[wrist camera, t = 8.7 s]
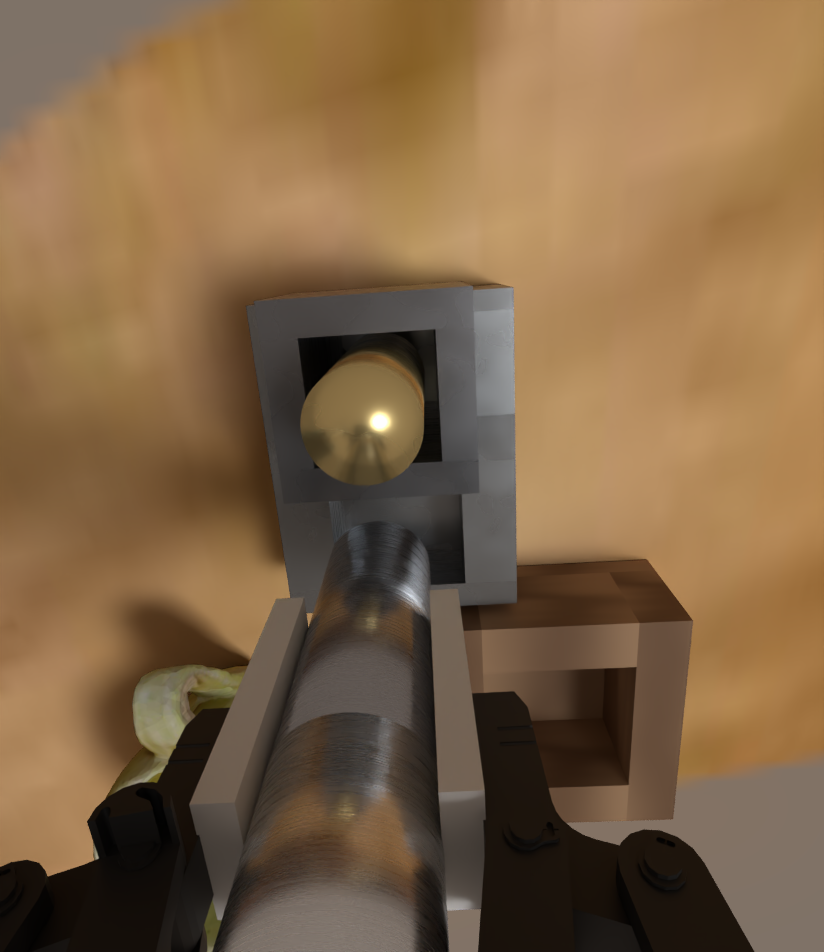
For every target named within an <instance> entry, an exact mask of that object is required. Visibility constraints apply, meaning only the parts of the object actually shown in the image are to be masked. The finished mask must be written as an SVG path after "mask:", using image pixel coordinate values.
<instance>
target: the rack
mask: <svg viewBox="0 0 824 952" xmlns="http://www.w3.org/2000/svg"><path fill="white" fill-rule="evenodd" d="M460 609H461V617H462V624H463V632H464V639H465V647H466V654H467V662H468V669H469V676H470V684H471V691H472V693H488V692H508V691H514V692H515V693H516V694H517V695H518V696H519V697H520V698H521V700H522V701H523V702H524V703H525V704H526V705H527V707H528V710H529V714H530V718H531V722H532V726H533V729H534V733H535V737H536V742H537V745H538V749H539V753H540V757H541V760H542V764H543V768H544V772H545V776H546V780H547V784H548V788H549V791H550V795H551V799H552V802H553V805H554V807H555V810H556V812H557V813H558V814H559V816H560V817H561V818H562V820H563V821H564V822H565V823H568V822H601V821H634V820H665V819H673V814H674V804H675V794H676V784H677V774H678V765H679V755H680V745H681V735H682V725H683V715H684V705H685V695H686V685H687V675H688V665H689V655H690V646H691V636H692V626H693V620H692V619H691V617H690V616H689V615H688V613H687V612H686V611H685V609H684V608H683V607H682V605H681V604H680V603H679V601H678V600H677V599H676V597H675V596H674V595H673V593H672V592H671V591H670V589H669V588H668V587H667V586H666V584H665V583H664V582H663V580H662V579H661V578H660V576H659V575H658V574H657V572H656V571H655V570H654V568H653V567H652V566H651V564H650V563H649V562H648V560H632V561H611V562H591V563H571V564H551V565H530V566H517V603H510V604H489V605H467V606H460Z"/></svg>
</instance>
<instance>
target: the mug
mask: <svg viewBox="0 0 824 952" xmlns="http://www.w3.org/2000/svg"><path fill="white" fill-rule="evenodd" d="M247 667H248V666H236V667H231V668H226V669H218V668H214V667H205V666H204V665H196V664H191V665H182V666H175V667H168V668H161V669H157V670H154V671H151V672H150V673H148V674H146V675H144V676H142V677H141V679H140V681H139V682H138V684H137V686H136V688H135V691H134V697H133V702H132V707H133V723H134V730H135V733H136V736H137V738H138V740H139V742H140V744H142V745H143V746H144V747H143V748H142V749H141V750H140V751H139V752H138V753H137V754H136V755H135V757H134V758H133V759H132V760H131V761H130V762H129V764H128V765H127V766H126V767H125V768H124V770H123V771H122V772H121V774H120V775H119V777H118V778H117V780H116V781H115V783H114V785H113V786H112V788H111V790H110V792H109V793H108V795H107V797H108V796H110V795H112V794H113V793H115V792H117V791H119V790H120V789H122V788H124V787H127V786H130V785H133V784H136V783H140V782H155V783H157V781H158V780H159V778H160V776H161V774H162V772H163V770H164V768H165V766H166V765H168V760H169V758H170V756H171V754H172V752H173V750H174V749H176V744H177V742H178V740H179V738H180V736H181V734H182V732H183V730H184V728H185V726H186V725H187V724H188V723H189V722H190V721H191V720H192V719H193V718H194V717H195V716H196V715H197V714H198V713H199V712H200V711H201V710H202V709H212V708H230V707H231V705H232V702H233V700H234V698H235V695H236V693H237V691H238V688H239V686H240V683H241V681H242V679H243V676H244V674H245V672H246V669H247ZM187 692H190V693H192V694H191V695H190V696H189V697H188V695H187ZM107 797H106V798H107ZM93 846H94V853H93V857H94V860H97V859H99V857H98V854H97V851H96V848H95V845H94V842H93ZM221 921H222V920H217V916H216V912H215V908H214V904H213V899H212V902H211V905H210V908H209V912H208V915H207V918H206V921H205V924H204V926H205V930H206V934H207V948H208V949H207V952H212V951H213V948H214V944H215V941H216V937H217V934H218V931H219V927H220V924H221Z"/></svg>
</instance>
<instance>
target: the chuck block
mask: <svg viewBox="0 0 824 952" xmlns="http://www.w3.org/2000/svg"><path fill="white" fill-rule="evenodd" d="M246 310H247V317H248V323H249V330H250V336H251V343H252V349H253V356H254V362H255V369H256V375H257V382H258V388H259V395H260V402H261V408H262V415H263V421H264V428H265V434H266V441H267V447H268V454H269V460H270V467H271V473H272V480H273V487H274V493H275V500H276V506H277V513H278V519H279V526H280V532H281V539H282V545H283V552H284V558H285V565H286V572H287V578H288V585H289V591H290V598H303V597H304V600H305V607H306V613H313V612H314V608H315V605H316V601H317V598H318V595H319V591H320V588H321V585H322V581H323V578H324V575H325V571H326V568H327V565H328V561H329V558H330V554H331V551H332V549H333V547H334V545H335V543H336V542H337V540H338V539H339V538H340V537H341V536H342V535H343V534H344V533H345V532H346V531H348V530H349V529H351V528H352V527H354V526H356V525H359V524H361V523H365V522H370V521H387V522H392V523H395V524H398V525H401V526H403V527H405V528H407V529H408V530H410V531H411V532H412V533H414V534H415V535H416V536H417V537H418V538H419V540H420V541H421V542H422V544H423V545H424V547H425V549H426V551H427V554H428V557H429V563H430V580H431V590H443V589H458V594H459V602H460V606H467V605H489V604H510V603H517V562H516V471H515V381H514V290H513V287H510V286H506V285H502V284H493V285H478V286H472V285H470V284H467V283H465V282H462V281H460V282H446V283H431V284H417V285H403V286H389V287H374V288H360V289H346V290H332V291H317V292H303V293H292V294H287V295H282V296H277V297H272V298H267V299H262V300H257V301H254V304H252V305H247V306H246ZM373 333H392V334H395V335H398V336H400V337H402V338H404V339H406V340H407V341H408V342H410V343H411V344H412V345H413V346H414V347H415V349H416V350H417V351H418V353H419V355H420V357H421V359H422V362H423V365H424V372H425V381H424V433H423V440H422V443H421V447H420V449H419V452H418V454H417V456H416V457H415V459H414V460H413V462H412V463H411V464H410V465H409V467H408V468H407V469H405V470H404V471H403V472H402V473H401V474H399V475H398V476H396V477H395V478H393V479H391V480H389V481H386V482H384V483H380V484H376V485H368V486H367V485H352V484H348V483H344V482H342V481H339V480H337V479H335V478H333V477H331V476H330V475H328V474H327V473H325V472H324V471H323V470H322V469H321V468H320V467H318V466H317V464H316V463H315V462H314V461H313V460H312V458H311V457H310V455H309V454H308V452H307V450H306V448H305V445H304V442H303V439H302V435H301V426H300V421H301V412H302V408H303V405H304V402H305V400H306V398H307V396H308V394H309V392H310V391H311V390H312V388H313V387H314V386H315V385H316V384H317V383H318V382H319V380H320V379H321V378H322V377H323V376H324V375H325V374H326V373H327V372H328V371H329V370H330V369H331V368H332V367H333V366H334V365H335V363H336V362H337V361H338V360H339V359H340V358H341V357H342V356H343V355H344V354H345V353H346V352H347V351H348V350H349V349H350V348H351V346H352V345H353V344H354V343H355V342H357V341H358V340H359V339H361V338H363V337H364V336H367V335H369V334H373Z"/></svg>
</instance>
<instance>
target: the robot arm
mask: <svg viewBox="0 0 824 952" xmlns="http://www.w3.org/2000/svg"><path fill="white" fill-rule="evenodd" d="M430 613H431V635H432V658H433V680H434V703H435V726H436V748H437V771H438V793H439V808H440V822H441V837H442V843H443V849H444V858H445V878H446V897H447V910H467V909H481V917H480V932H479V946H478V952H754V950H753V949H752V947H751V945H750V943H749V942H748V940H747V938H746V936H745V935H744V933H743V931H742V929H741V928H740V926H739V924H738V922H737V920H736V918H735V917H734V915H733V913H732V911H731V910H730V908H729V906H728V904H727V903H726V901H725V899H724V897H723V895H722V894H721V892H720V890H719V888H718V887H717V885H716V883H715V881H714V879H713V878H712V876H711V874H710V873H709V871H708V869H707V867H706V865H705V863H704V862H703V861H702V859H701V858H700V857H699V856H698V854H697V853H696V852H695V851H694V849H693V848H692V847H690V846H689V845H688V844H686V843H685V842H684V841H682V840H681V839H679V838H678V837H676V836H673V835H670V834H668V833H665V832H663V831H658V830H641V831H638V832H635V833H631V834H630V835H629V836H628V837H627V838H625V840H623V841H622V842H621V844H620V846H619V845H616V844H611V843H608V842H603V841H600V840H596V839H593V838H590V837H587V836H585V835H582V834H581V833H579V832H577V831H576V830H574V829H572V828H571V827H570V826H569V825H568V824H567V823H565V822H564V821H563V820H562V818H561V817H560V816H559V814H558V813H557V812H556V810H555V807H554V805H553V802H552V799H551V795H550V791H549V788H548V784H547V780H546V776H545V772H544V768H543V764H542V760H541V757H540V753H539V749H538V745H537V742H536V737H535V733H534V729H533V726H532V722H531V718H530V714H529V710H528V707H527V705H526V704H525V703H524V702H523V701H522V700H521V698H520V697H519V696H518V695H517V694H516V693H515V692H514V691H508V692H488V693H472V691H471V684H470V676H469V669H468V662H467V654H466V647H465V639H464V632H463V624H462V617H461V609H460V602H459V594H458V589H443V590H430ZM307 632H308V621H307V614H306V607H305V600H304V597H303V598H285V599H276V601H275V603H274V605H273V608H272V610H271V612H270V615H269V617H268V620H267V622H266V624H265V627H264V629H263V631H262V634H261V636H260V638H259V641H258V643H257V646H256V648H255V650H254V653H253V655H252V657H251V660H250V662H249V665H248V667H247V669H246V672H245V674H244V676H243V679H242V681H241V683H240V686H239V688H238V691H237V693H236V695H235V698H234V700H233V702H232V705H231V707H230V708H212V709H202V710H201V711H200V712H199V713H198V714H197V715H196V716H195V717H194V718H193V719H192V720H191V721H190V722H189V723H188V724H187V725H186V726H185V728H184V730H183V732H182V734H181V736H180V738H179V740H178V742H177V744H176V749H174V750H173V752H172V754H171V756H170V758H169V760H168V765H166V766H165V768H164V770H163V772H162V774H161V776H160V778H159V780H158V781H157V783H155V782H140V783H136V784H133V785H130V786H127V787H124V788H122V789H120V790H119V791H117V792H115V793H113V794H112V795H110V796H108V797H107V798H106V799H105V800H104V801H103V802H102V803H101V804H100V805H99V806H97V807H96V808H95V810H94V811H93V813H92V815H91V816H90V818H89V820H88V821H87V823H88V826H89V829H90V832H91V835H92V839H93V842H94V845H95V848H96V851H97V854H98V857H99V859H97V860H94V861H92V862H89V863H87V864H85V865H82V866H79V867H76V868H73V869H70V870H67V871H64V872H61V873H57V874H54V875H51V876H48V877H47V874H46V871H45V870H44V869H43V867H42V866H41V865H40V863H37V862H33V861H29V860H23V861H17V862H11V863H9V864H6V865H4V866H2V867H0V952H207V949H208V948H207V934H206V930H205V926H204V924H205V921H206V918H207V915H208V912H209V908H210V905H211V902H212V899H213V904H214V908H215V912H216V916H217V920H222V917H223V914H224V911H225V907H226V904H227V900H228V897H229V894H230V890H231V887H232V884H233V880H234V877H235V874H236V870H237V867H238V864H239V860H240V857H241V853H242V850H243V847H244V843H245V840H246V837H247V833H248V830H249V827H250V823H251V820H252V817H253V813H254V810H255V806H256V803H257V800H258V796H259V793H260V790H261V786H262V783H263V780H264V776H265V773H266V769H267V766H268V763H269V759H270V756H271V753H272V749H273V746H274V743H275V739H276V736H277V733H278V729H279V726H280V722H281V719H282V716H283V712H284V709H285V706H286V702H287V699H288V696H289V692H290V689H291V685H292V682H293V679H294V675H295V672H296V669H297V665H298V662H299V659H300V655H301V652H302V649H303V645H304V642H305V638H306V635H307Z"/></svg>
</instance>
